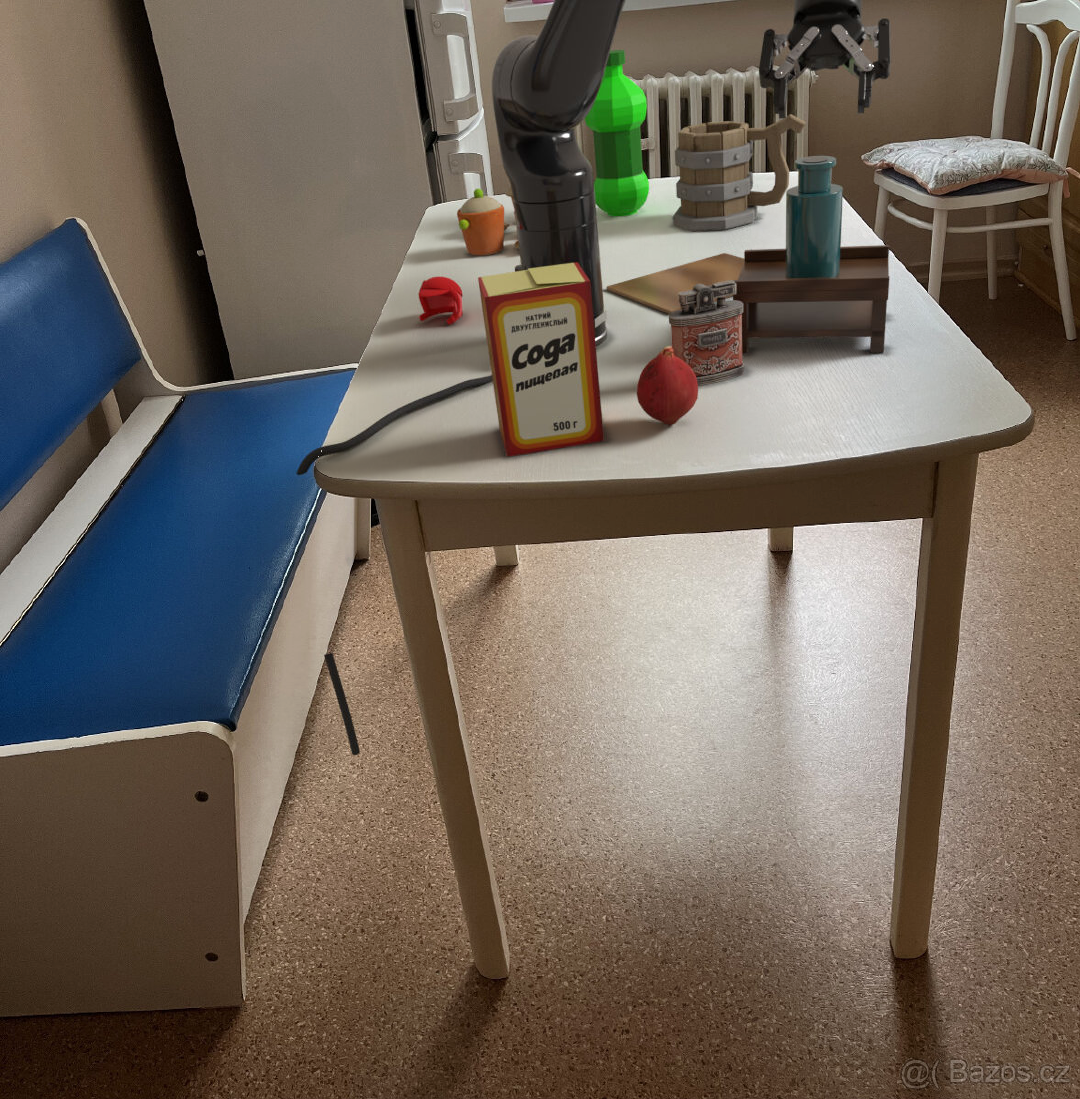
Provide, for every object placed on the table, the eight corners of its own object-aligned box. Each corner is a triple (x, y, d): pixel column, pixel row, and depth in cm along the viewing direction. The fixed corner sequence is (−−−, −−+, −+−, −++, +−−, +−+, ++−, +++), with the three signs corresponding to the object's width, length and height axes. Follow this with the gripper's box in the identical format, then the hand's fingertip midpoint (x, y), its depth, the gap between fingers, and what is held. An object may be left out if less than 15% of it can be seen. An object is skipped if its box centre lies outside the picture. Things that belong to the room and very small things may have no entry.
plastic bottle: (586, 211, 180) (572, 54, 167) (644, 202, 181) (635, 45, 168) (599, 224, 171) (585, 59, 158) (660, 214, 172) (652, 49, 159)
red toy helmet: (425, 313, 140) (417, 269, 137) (468, 309, 139) (461, 265, 136) (416, 333, 133) (408, 287, 130) (461, 329, 133) (454, 283, 129)
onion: (651, 442, 98) (646, 362, 94) (631, 420, 103) (625, 343, 99) (708, 429, 99) (706, 350, 95) (685, 408, 104) (682, 331, 100)
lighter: (679, 390, 108) (675, 297, 103) (666, 379, 110) (662, 288, 105) (749, 374, 109) (749, 281, 104) (735, 364, 112) (734, 273, 107)
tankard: (668, 232, 162) (664, 131, 154) (683, 211, 172) (679, 115, 164) (799, 228, 156) (801, 122, 148) (806, 207, 166) (808, 107, 158)
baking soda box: (507, 456, 99) (484, 293, 90) (499, 429, 104) (477, 273, 96) (604, 440, 99) (589, 277, 91) (591, 414, 105) (577, 258, 97)
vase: (810, 285, 110) (812, 168, 104) (774, 274, 115) (775, 161, 109) (851, 272, 112) (856, 157, 106) (814, 262, 117) (817, 151, 111)
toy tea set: (561, 252, 159) (555, 187, 154) (461, 264, 159) (452, 200, 154) (553, 213, 181) (547, 155, 176) (466, 223, 182) (457, 166, 177)
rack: (733, 354, 115) (732, 281, 111) (745, 317, 124) (744, 249, 120) (884, 353, 110) (889, 277, 106) (884, 315, 120) (889, 244, 116)
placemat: (670, 315, 128) (670, 311, 128) (606, 289, 140) (606, 286, 140) (795, 277, 136) (795, 273, 135) (724, 256, 147) (724, 252, 147)
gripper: (763, -30, 117) (753, 95, 114) (896, -45, 113) (889, 84, 110) (768, 17, 124) (758, 136, 121) (892, 5, 120) (886, 128, 117)
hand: (821, 111), depth 115 cm, fingers open, 8 cm apart
